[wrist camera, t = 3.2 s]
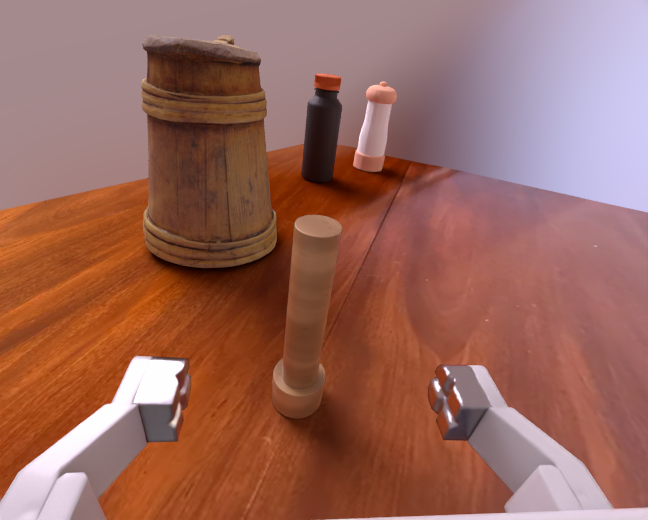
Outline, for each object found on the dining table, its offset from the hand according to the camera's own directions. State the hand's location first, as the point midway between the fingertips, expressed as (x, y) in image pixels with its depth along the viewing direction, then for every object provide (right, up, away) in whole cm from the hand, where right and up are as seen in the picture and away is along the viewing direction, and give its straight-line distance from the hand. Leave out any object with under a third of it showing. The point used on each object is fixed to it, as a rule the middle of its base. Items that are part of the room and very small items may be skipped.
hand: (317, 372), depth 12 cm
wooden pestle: (-2, -8, +20) cm, 22 cm away
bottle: (-1, +22, +66) cm, 70 cm away
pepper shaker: (+11, +27, +77) cm, 82 cm away
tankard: (-16, +8, +43) cm, 46 cm away
